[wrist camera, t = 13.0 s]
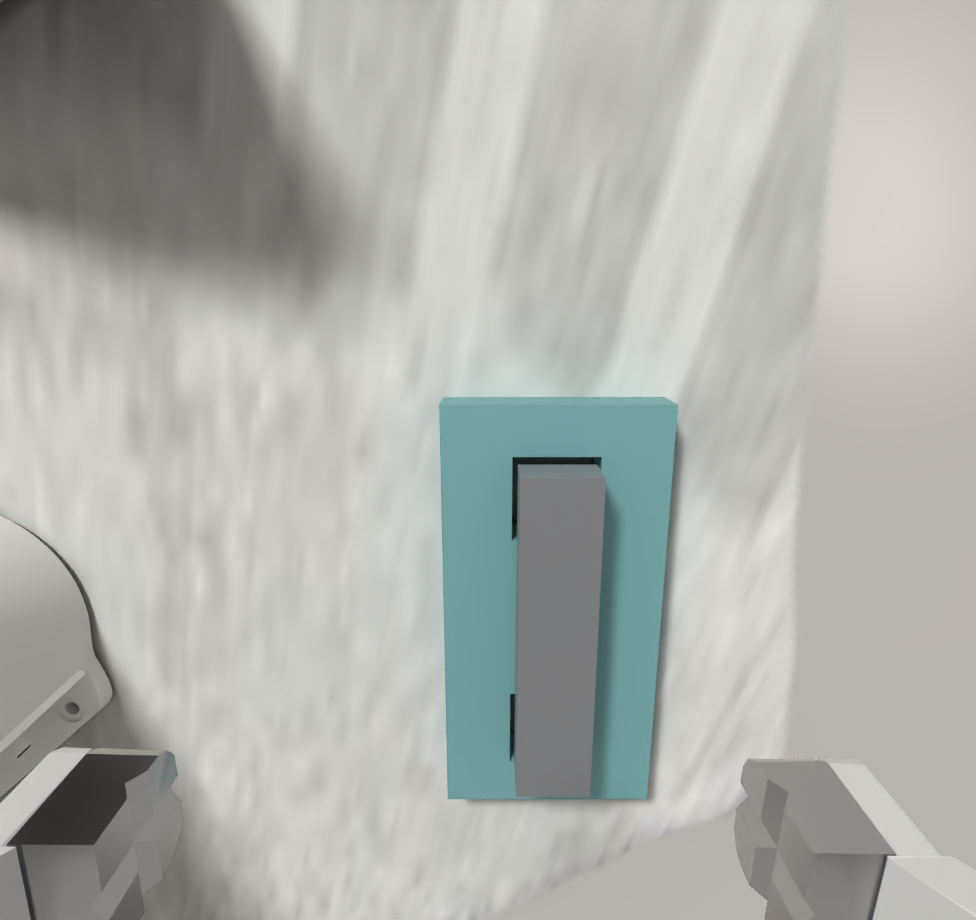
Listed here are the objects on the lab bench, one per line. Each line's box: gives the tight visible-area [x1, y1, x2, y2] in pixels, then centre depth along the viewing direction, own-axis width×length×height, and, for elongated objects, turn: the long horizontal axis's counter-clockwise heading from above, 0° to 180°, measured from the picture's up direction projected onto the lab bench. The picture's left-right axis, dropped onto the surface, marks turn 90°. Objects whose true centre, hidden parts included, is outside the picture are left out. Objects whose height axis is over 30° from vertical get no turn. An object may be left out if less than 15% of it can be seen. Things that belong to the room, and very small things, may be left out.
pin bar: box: [514, 464, 606, 797], centre depth 33 cm, size 18×4×6 cm, turn 0°
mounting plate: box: [439, 397, 678, 799], centre depth 35 cm, size 24×12×2 cm, turn 0°
